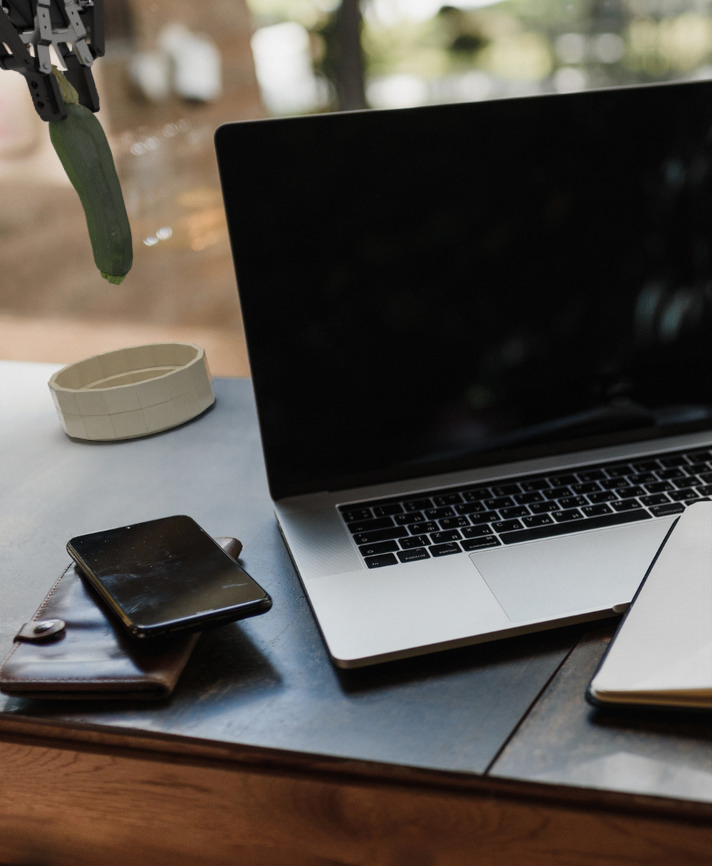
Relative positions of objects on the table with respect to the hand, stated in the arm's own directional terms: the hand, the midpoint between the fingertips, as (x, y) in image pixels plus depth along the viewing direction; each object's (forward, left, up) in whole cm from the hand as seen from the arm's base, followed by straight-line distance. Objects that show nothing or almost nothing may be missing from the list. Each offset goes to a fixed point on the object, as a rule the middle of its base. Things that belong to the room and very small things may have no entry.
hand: (71, 115), depth 94 cm
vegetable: (0, 0, -15) cm, 15 cm away
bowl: (-2, +5, -30) cm, 30 cm away
